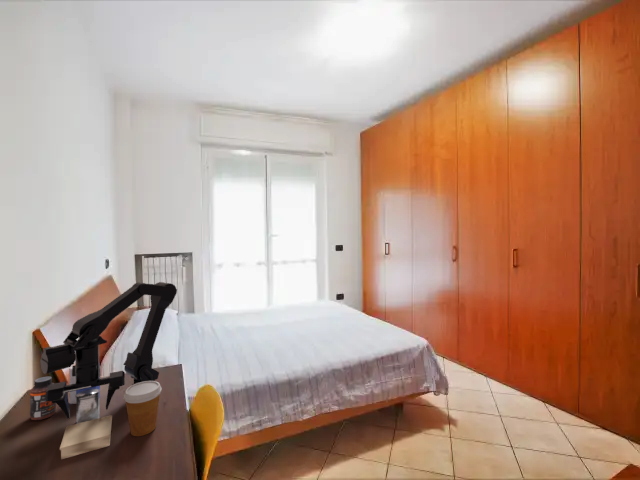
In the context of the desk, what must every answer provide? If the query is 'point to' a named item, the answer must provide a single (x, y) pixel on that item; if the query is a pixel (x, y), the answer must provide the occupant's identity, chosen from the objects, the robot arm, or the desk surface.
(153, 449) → the desk surface
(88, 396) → the tin
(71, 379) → the walkman
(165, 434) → the desk surface
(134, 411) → the disposable coffee cup
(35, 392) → the supplement bottle
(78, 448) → the oak box
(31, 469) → the desk surface
